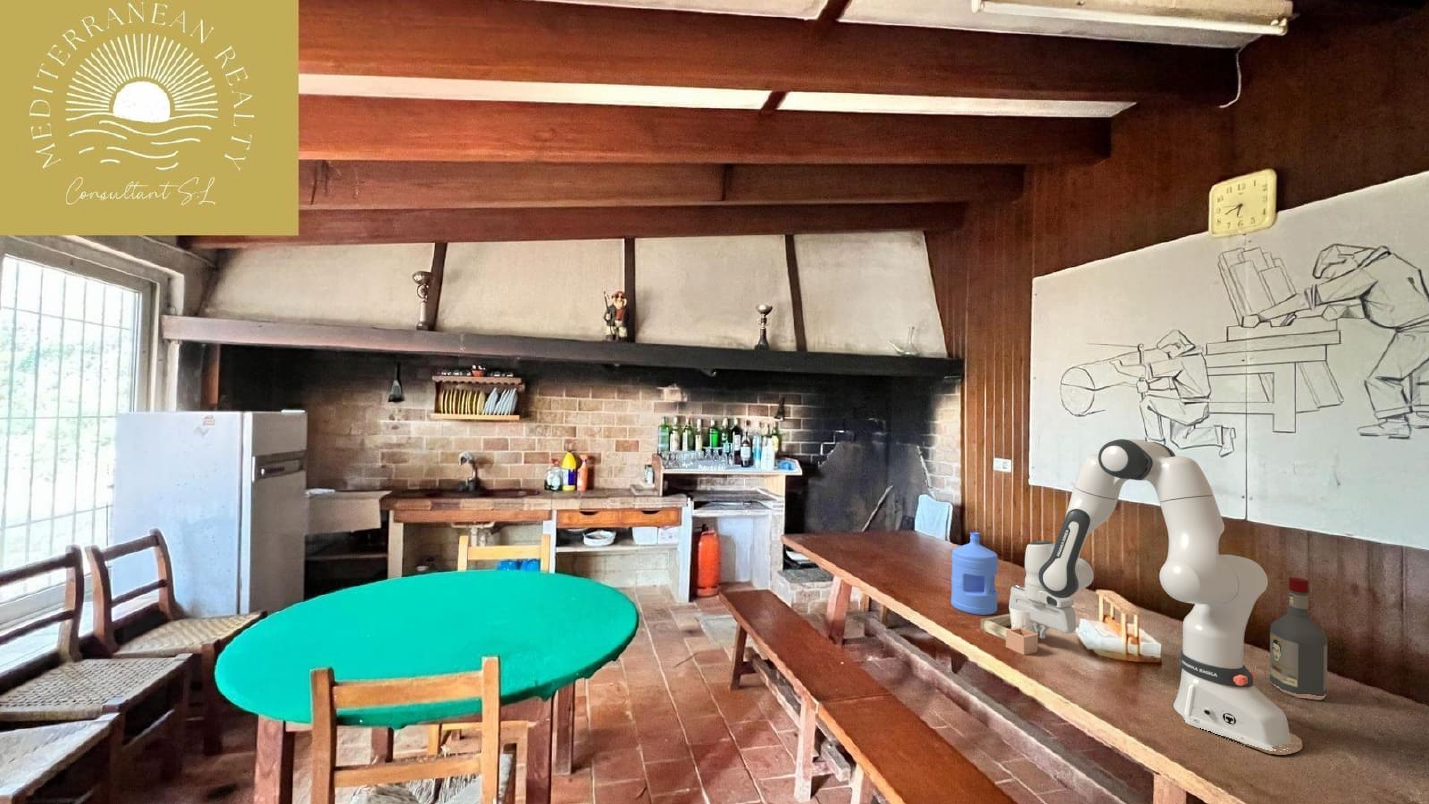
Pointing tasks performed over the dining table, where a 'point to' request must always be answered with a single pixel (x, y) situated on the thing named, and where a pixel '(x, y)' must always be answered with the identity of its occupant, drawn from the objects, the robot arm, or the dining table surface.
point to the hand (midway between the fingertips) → (1040, 637)
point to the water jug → (974, 578)
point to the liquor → (1298, 646)
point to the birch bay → (996, 625)
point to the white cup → (1021, 620)
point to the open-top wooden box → (1022, 640)
